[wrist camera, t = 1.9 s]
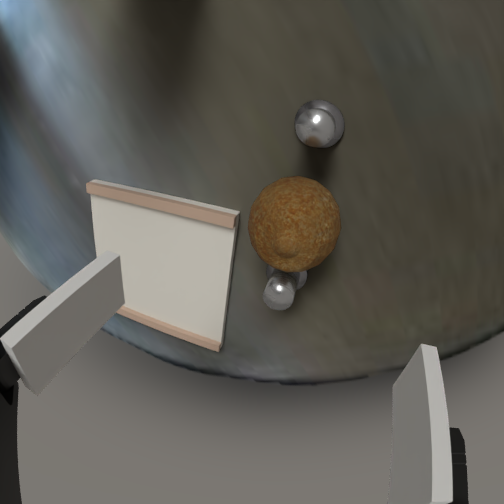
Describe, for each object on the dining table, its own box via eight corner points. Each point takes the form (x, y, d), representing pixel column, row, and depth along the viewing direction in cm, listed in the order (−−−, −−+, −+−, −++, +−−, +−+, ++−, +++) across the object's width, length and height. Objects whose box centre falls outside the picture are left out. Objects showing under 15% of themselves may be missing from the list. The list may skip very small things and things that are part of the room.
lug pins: (264, 282, 29) (252, 308, 26) (299, 95, 21) (291, 94, 17) (302, 293, 29) (294, 321, 25) (348, 106, 20) (349, 107, 17)
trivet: (107, 299, 37) (101, 306, 36) (95, 179, 29) (86, 183, 28) (222, 343, 35) (218, 352, 33) (239, 211, 27) (234, 217, 25)
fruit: (327, 155, 22) (319, 181, 16) (351, 229, 24) (351, 283, 18) (253, 179, 25) (214, 214, 18) (280, 247, 27) (255, 302, 20)
